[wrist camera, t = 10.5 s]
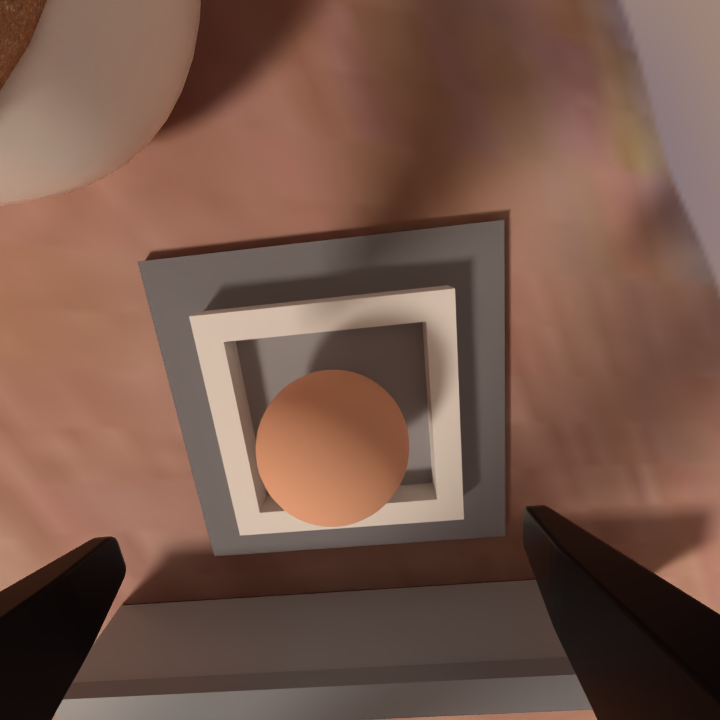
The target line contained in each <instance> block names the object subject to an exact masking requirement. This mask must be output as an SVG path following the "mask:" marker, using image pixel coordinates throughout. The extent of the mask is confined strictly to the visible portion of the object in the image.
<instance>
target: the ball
mask: <svg viewBox="0 0 720 720" xmlns="http://www.w3.org/2000/svg"><path fill="white" fill-rule="evenodd" d="M408 459H409V435H408V429H407V426H406V422H405V419H404V417H403V415H402V412H401V410H400V408H399V407H398V405H397V404H396V402H395V401H394V399H393V398H392V397H391V396H390V395H389V394H388V392H387V391H386V390H385V389H383V388H382V387H381V386H380V385H379V384H377V383H376V382H374V381H373V380H371V379H369V378H367V377H365V376H363V375H360V374H358V373H355V372H350V371H346V370H322V371H316V372H313V373H310V374H307V375H304V376H302V377H300V378H298V379H296V380H295V381H293V382H291V383H290V384H288V385H287V386H286V387H285V388H283V389H282V390H281V391H280V392H279V393H278V394H277V395H276V397H275V398H274V399H273V400H272V401H271V403H270V404H269V406H268V407H267V409H266V411H265V413H264V415H263V417H262V419H261V422H260V425H259V428H258V433H257V439H256V460H257V467H258V470H259V474H260V477H261V479H262V481H263V484H264V486H265V488H266V490H267V491H268V493H269V494H270V496H271V497H272V498H273V499H274V501H275V502H276V503H277V504H278V505H279V506H280V507H281V508H282V509H283V510H285V511H286V512H287V513H289V514H290V515H292V516H293V517H295V518H297V519H299V520H301V521H303V522H306V523H309V524H313V525H318V526H325V527H339V526H346V525H350V524H354V523H357V522H359V521H362V520H364V519H366V518H368V517H369V516H371V515H373V514H374V513H376V512H377V511H379V510H380V509H381V508H382V507H383V506H384V505H385V504H386V503H387V502H388V501H389V500H390V499H391V498H392V496H393V495H394V494H395V492H396V491H397V489H398V488H399V486H400V484H401V482H402V479H403V477H404V475H405V472H406V469H407V465H408Z"/></svg>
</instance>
